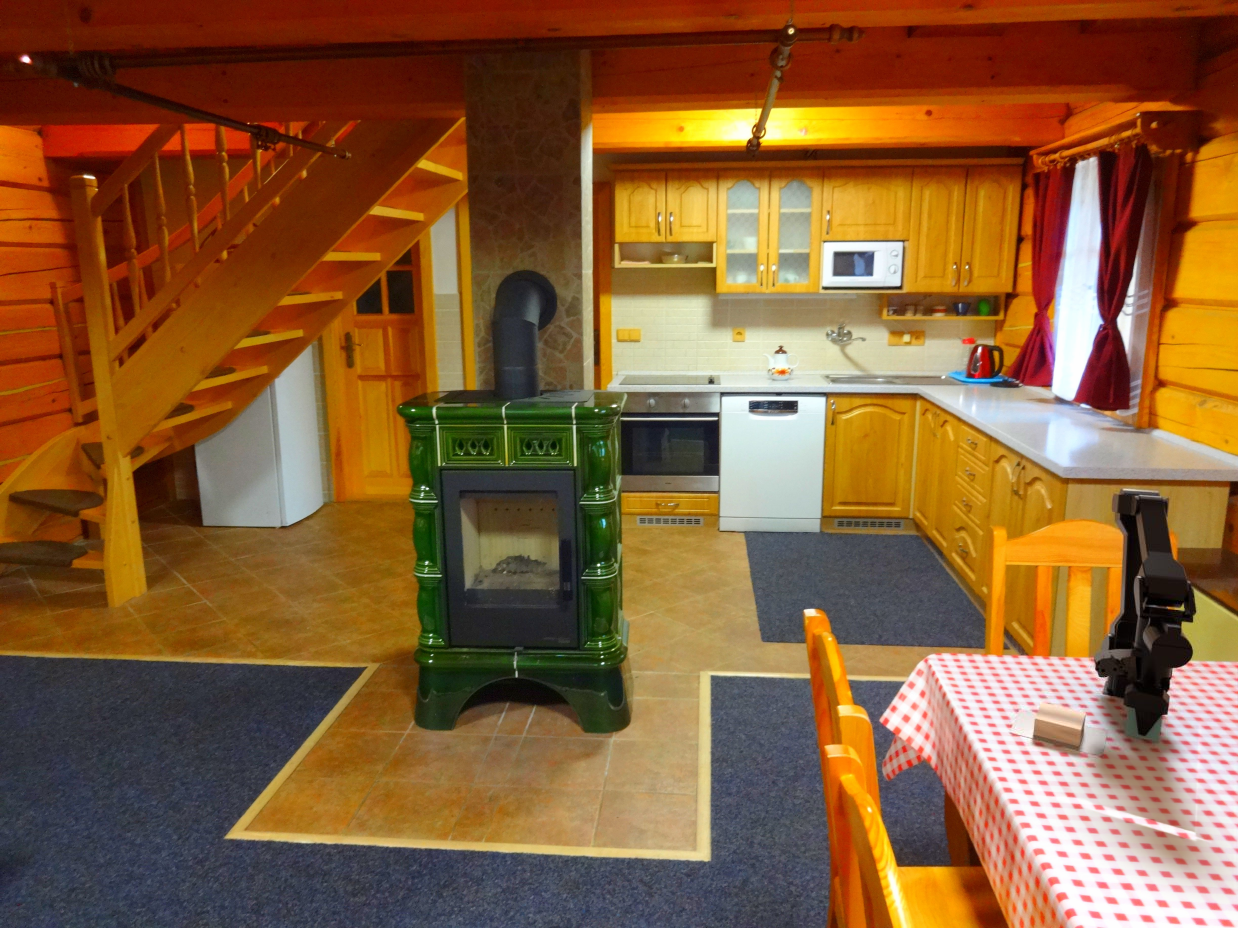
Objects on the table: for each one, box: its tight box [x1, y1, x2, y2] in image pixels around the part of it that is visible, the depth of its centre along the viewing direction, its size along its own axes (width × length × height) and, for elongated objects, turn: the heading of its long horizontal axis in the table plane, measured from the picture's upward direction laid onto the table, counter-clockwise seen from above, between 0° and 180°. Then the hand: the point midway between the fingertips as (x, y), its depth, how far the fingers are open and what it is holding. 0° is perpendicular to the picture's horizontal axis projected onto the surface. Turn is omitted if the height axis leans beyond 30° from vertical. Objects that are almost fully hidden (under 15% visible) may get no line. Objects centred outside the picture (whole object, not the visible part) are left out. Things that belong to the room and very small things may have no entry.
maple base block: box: [1033, 701, 1087, 746], centre depth 150 cm, size 7×7×3 cm
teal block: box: [1124, 707, 1164, 743], centre depth 149 cm, size 5×5×6 cm
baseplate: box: [1009, 708, 1109, 758], centre depth 150 cm, size 10×14×1 cm
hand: (1142, 728), depth 150 cm, fingers closed on teal block, 5 cm apart
